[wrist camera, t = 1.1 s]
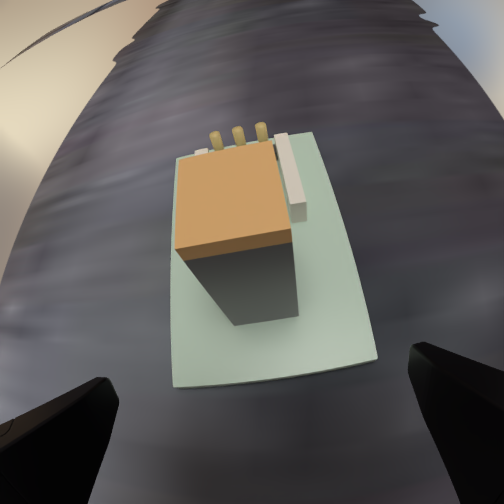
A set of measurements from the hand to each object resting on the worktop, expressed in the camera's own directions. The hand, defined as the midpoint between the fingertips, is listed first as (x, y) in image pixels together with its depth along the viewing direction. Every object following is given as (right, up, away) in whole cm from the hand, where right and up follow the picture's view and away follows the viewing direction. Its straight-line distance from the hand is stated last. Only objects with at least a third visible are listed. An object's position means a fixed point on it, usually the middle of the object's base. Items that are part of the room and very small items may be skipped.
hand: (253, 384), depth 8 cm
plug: (+1, +1, +14) cm, 15 cm away
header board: (0, +4, +18) cm, 18 cm away
